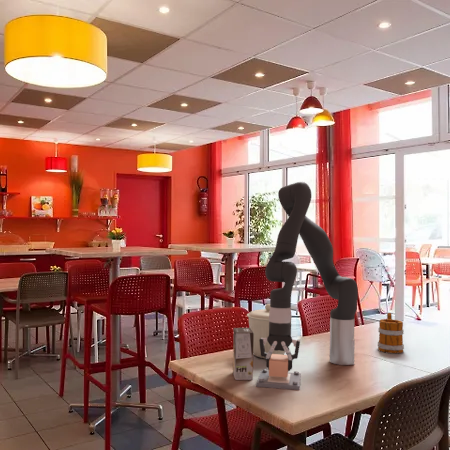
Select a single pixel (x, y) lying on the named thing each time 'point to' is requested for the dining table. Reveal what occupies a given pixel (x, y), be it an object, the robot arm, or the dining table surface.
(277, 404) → the dining table surface
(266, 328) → the canister
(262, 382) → the plate
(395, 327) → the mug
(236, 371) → the coffee box
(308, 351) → the dining table surface
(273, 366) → the brick
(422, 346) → the dining table surface
